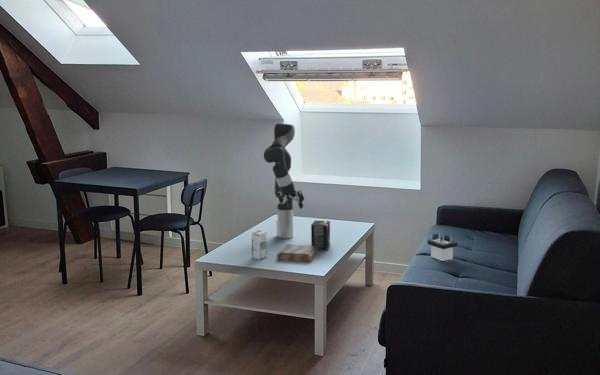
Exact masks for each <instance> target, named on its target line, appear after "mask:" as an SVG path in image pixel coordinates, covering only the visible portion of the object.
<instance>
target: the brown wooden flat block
mask: <svg viewBox="0 0 600 375" xmlns="http://www.w3.org/2000/svg"><path fill="white" fill-rule="evenodd" d="M276 254H277V256H276V258H277V261H285V262H286V261H287V262H297V263H298V262H299V263H301V262H302V263H311V262H312V261H313V259H314V258H315V257H316V255H317V254H318V250H317V246H311V245H309V244H308V245H307V244H294V243H293V244H291V243H286V244H285V245H284V246H283V247H282V248H281V249H280V251H278V253H276Z"/></svg>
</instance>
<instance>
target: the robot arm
mask: <svg viewBox="0 0 600 375" xmlns="http://www.w3.org/2000/svg"><path fill="white" fill-rule="evenodd" d="M273 128H274V130H273V137H274V140H273V142H272V143H271V145H269V146H268V147H266V148H265V149H264V152H263V158H264V160H265V162H266V163H269V164H270V163H274V165H273V166H272V172H273V174H274V176H275V177H274V178H275V179H274V180H275V181H274V195H275V197H276V198H278V201H279V203H278V204H277V206H276V207H277V209H276V210H277V213H276V214H277V220H276V236H277V237H278V238H280V239H292V238H293V237H294V204H293V203H294V201H295V202H296V203H297V204H298V207H299V209H301V210H302V209H303V207H304V200H305V196H304V194H303V192H302V190H301V189H298V190H297V191H296V189H295V185H294V182H293V180H292V176H291V175H290V173H289V172H290V170H291V168H292V156H291V154H290V152H289V151H288V149H287V148H286V147H287V146H288V145H289V144H290V143H291V142H292V141H293V140H294V137H295V134H296V133H295V132H296V128H295V126H294V125H293V124H291V123H282V122H281V123H280V122H277V123H276V124H275V125H274V127H273Z"/></svg>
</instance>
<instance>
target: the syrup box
mask: <svg viewBox="0 0 600 375" xmlns="http://www.w3.org/2000/svg"><path fill="white" fill-rule="evenodd" d="M251 258H252V259H253V260H254V259H255V260H262V259H266V258H267V231H264V230H256V231H252V232H251Z"/></svg>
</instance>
